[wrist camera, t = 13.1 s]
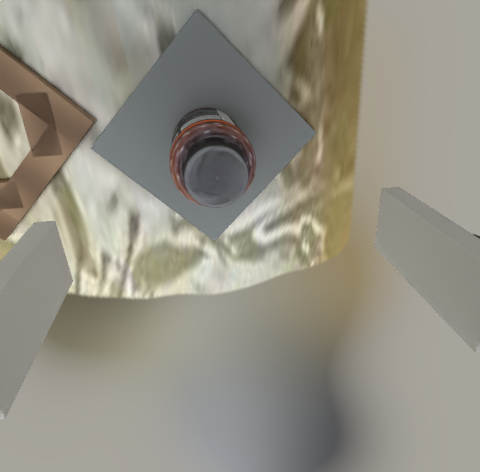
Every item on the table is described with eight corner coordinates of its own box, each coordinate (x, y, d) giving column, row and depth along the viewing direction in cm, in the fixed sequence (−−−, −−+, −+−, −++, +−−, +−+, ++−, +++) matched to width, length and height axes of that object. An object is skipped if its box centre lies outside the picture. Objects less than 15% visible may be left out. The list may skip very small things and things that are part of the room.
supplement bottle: (241, 172, 35) (264, 221, 25) (175, 176, 34) (172, 228, 24) (239, 104, 32) (265, 127, 22) (168, 107, 32) (161, 132, 21)
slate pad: (196, 10, 30) (196, 9, 29) (313, 130, 35) (316, 132, 34) (93, 145, 33) (90, 148, 32) (213, 236, 38) (214, 241, 38)
